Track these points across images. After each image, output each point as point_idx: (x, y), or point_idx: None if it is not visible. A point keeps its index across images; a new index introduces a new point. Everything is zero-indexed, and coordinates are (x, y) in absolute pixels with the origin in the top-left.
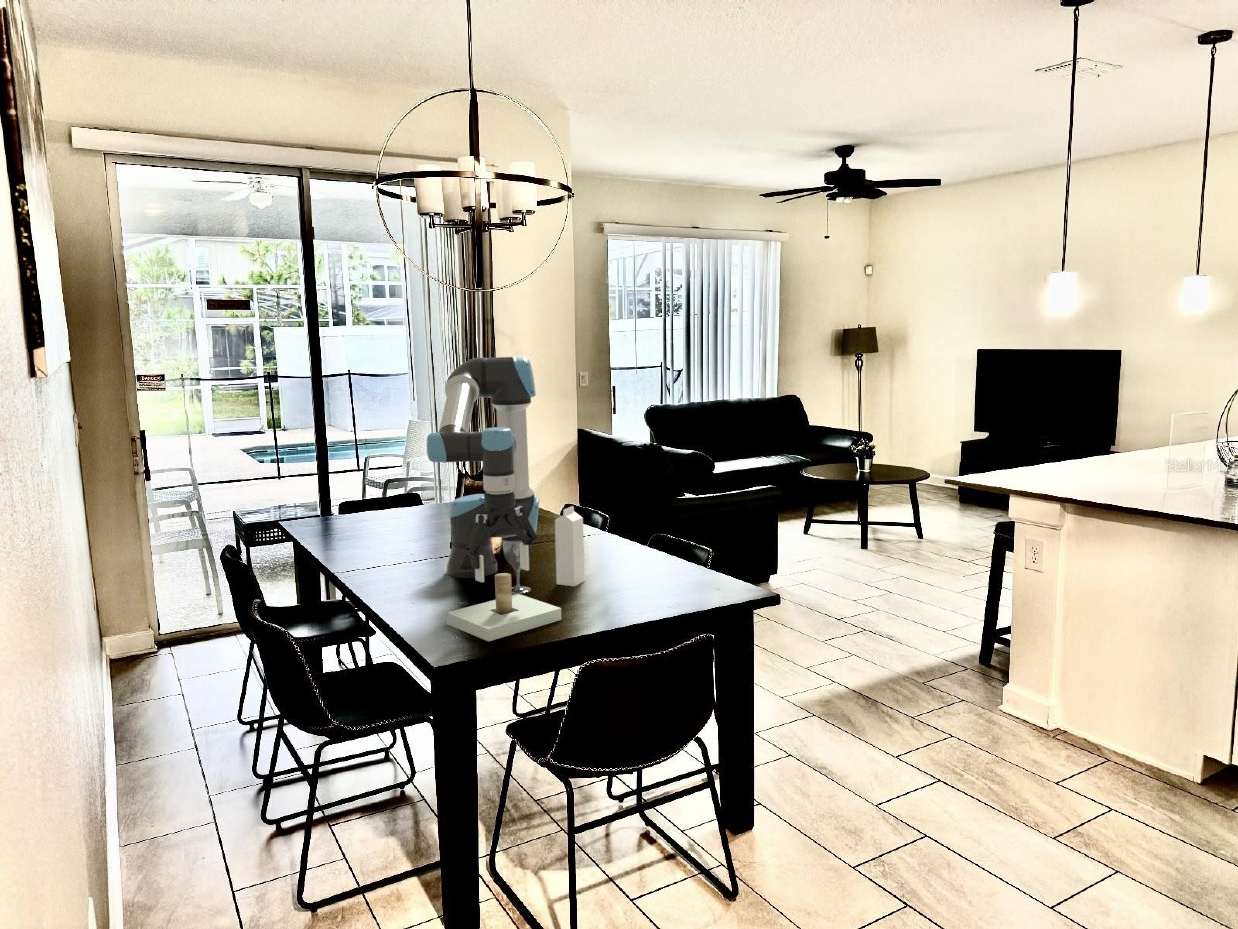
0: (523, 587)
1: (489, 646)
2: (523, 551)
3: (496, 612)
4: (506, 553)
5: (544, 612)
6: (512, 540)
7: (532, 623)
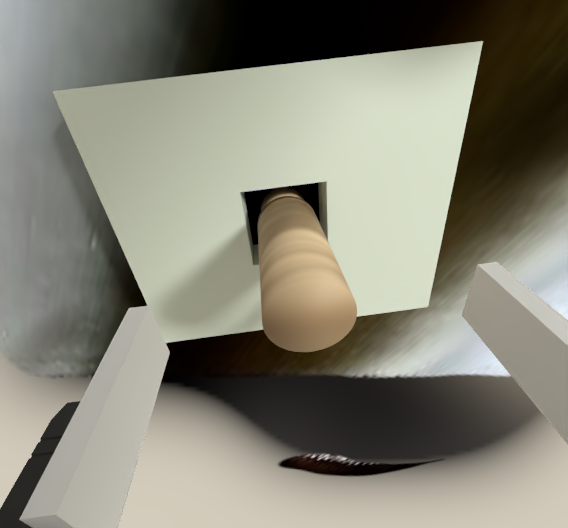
0: None
1: None
2: (564, 402)
3: (258, 219)
4: None
5: (368, 312)
6: None
7: None
